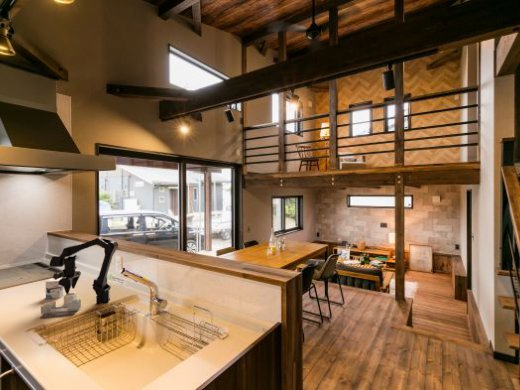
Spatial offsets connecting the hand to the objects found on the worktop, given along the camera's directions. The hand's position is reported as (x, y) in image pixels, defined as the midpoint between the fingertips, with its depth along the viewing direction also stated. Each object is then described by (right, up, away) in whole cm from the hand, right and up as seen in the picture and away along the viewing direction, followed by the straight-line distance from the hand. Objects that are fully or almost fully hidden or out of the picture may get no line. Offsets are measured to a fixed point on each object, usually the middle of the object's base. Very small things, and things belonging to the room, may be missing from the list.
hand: (70, 290), depth 172 cm
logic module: (0, -8, 0) cm, 8 cm away
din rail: (+3, -8, -12) cm, 15 cm away
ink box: (-18, -8, +11) cm, 23 cm away
